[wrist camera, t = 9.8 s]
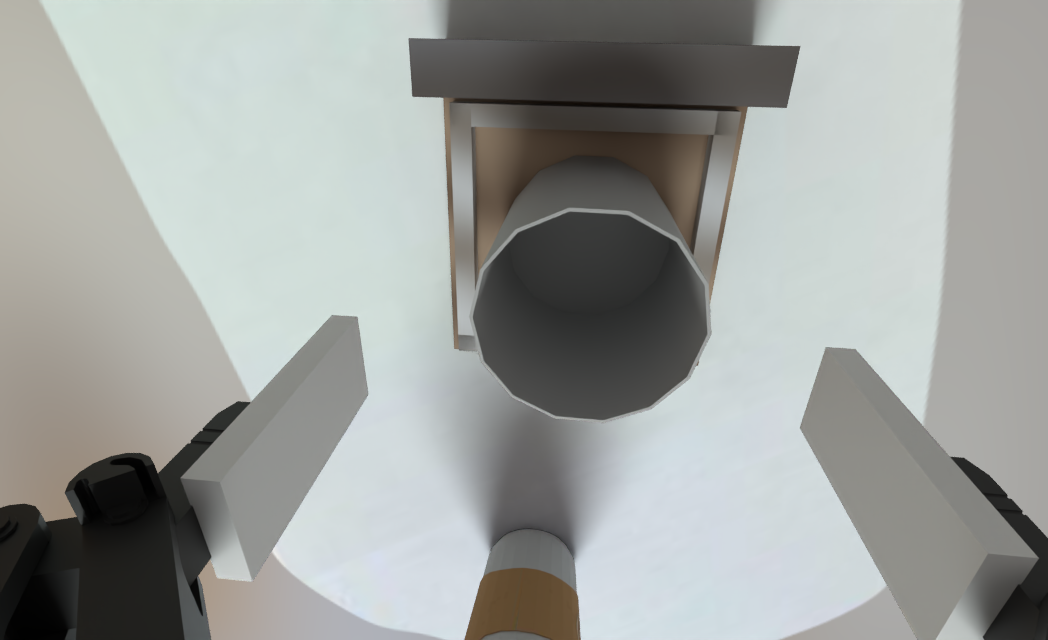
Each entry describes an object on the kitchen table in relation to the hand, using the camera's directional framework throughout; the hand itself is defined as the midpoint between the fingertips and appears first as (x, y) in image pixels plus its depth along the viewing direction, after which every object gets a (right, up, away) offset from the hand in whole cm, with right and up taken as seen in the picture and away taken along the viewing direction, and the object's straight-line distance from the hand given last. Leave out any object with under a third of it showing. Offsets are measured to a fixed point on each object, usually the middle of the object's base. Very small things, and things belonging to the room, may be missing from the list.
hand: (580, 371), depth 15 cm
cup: (+2, +6, +12) cm, 14 cm away
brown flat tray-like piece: (+2, +7, +13) cm, 15 cm away
